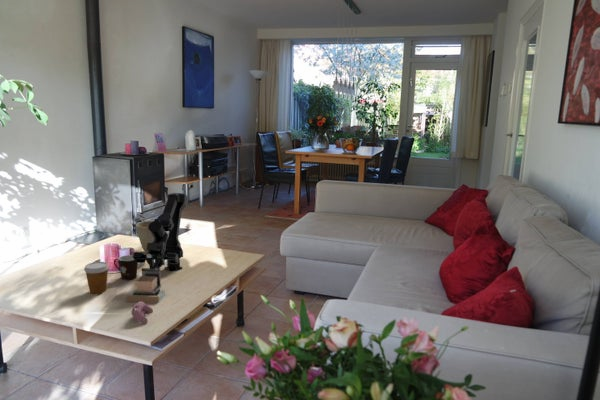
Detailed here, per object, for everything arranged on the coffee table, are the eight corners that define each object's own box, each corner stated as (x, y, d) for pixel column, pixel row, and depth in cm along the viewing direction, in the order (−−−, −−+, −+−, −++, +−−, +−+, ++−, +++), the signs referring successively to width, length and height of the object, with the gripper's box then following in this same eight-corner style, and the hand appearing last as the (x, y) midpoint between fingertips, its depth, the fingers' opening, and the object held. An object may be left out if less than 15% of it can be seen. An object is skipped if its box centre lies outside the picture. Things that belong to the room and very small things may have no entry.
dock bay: (135, 294, 185) (134, 287, 185) (165, 295, 185) (164, 288, 185) (126, 303, 177) (126, 296, 176) (158, 304, 176) (158, 297, 176)
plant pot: (132, 254, 237) (130, 226, 235) (145, 247, 252) (144, 220, 249) (157, 256, 235) (156, 228, 232) (170, 249, 250) (169, 221, 247)
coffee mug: (142, 278, 203) (141, 258, 201) (124, 283, 197) (123, 262, 195) (130, 272, 211) (129, 252, 209) (112, 276, 205) (111, 256, 203)
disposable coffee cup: (98, 297, 181) (96, 270, 179) (80, 294, 184) (78, 266, 182) (115, 289, 190) (113, 263, 187) (98, 286, 193) (96, 260, 191)
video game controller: (143, 316, 169) (134, 301, 167) (154, 311, 169) (145, 296, 168) (136, 328, 159) (127, 312, 158) (148, 322, 159) (138, 306, 158)
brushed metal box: (142, 291, 188) (142, 267, 186) (161, 291, 188) (160, 268, 186) (134, 299, 179) (133, 275, 177) (154, 300, 179) (153, 275, 177)
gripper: (133, 233, 189) (123, 266, 180) (176, 235, 189) (169, 268, 180) (140, 246, 198) (132, 277, 189) (181, 247, 198) (175, 279, 189)
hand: (151, 275), depth 186 cm, fingers closed
